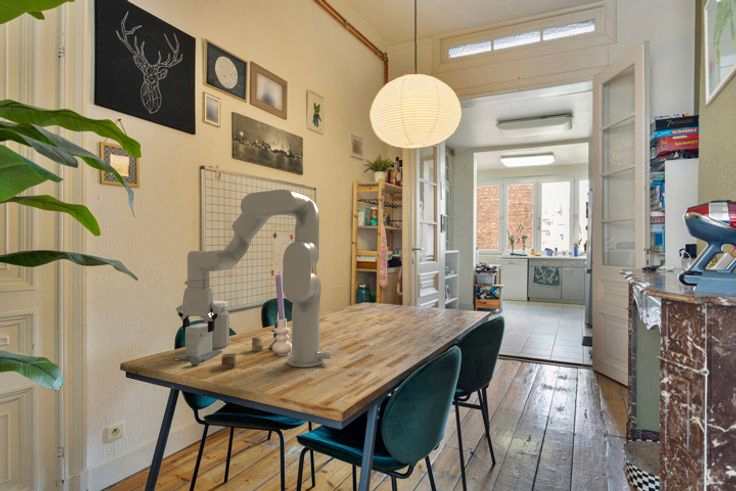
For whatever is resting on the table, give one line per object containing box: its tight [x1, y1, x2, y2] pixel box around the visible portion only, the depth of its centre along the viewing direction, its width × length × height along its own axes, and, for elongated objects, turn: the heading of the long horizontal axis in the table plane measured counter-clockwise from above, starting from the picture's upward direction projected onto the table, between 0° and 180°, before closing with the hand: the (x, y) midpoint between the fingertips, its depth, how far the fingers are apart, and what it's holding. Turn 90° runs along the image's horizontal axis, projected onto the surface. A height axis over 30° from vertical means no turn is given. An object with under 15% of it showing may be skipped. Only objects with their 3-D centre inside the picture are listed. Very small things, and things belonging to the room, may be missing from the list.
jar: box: [203, 299, 230, 350], centre depth 164 cm, size 10×10×18 cm
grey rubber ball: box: [189, 354, 201, 366], centre depth 139 cm, size 4×4×4 cm
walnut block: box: [221, 353, 237, 370], centre depth 138 cm, size 4×4×4 cm
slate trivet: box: [172, 349, 223, 362], centre depth 150 cm, size 12×12×1 cm
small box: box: [184, 322, 213, 357], centre depth 150 cm, size 8×6×10 cm
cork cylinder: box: [251, 336, 264, 353], centre depth 158 cm, size 4×4×5 cm
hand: (198, 330), depth 150 cm, fingers open, 9 cm apart
